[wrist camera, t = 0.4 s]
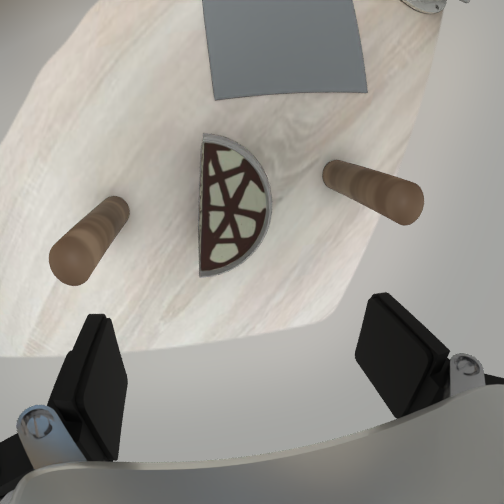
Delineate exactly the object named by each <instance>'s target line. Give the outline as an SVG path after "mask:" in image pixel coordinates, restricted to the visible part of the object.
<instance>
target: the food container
mask: <svg viewBox="0 0 504 504" xmlns="http://www.w3.org/2000/svg"><path fill="white" fill-rule="evenodd" d="M271 215H272V196H271V190H270V185H269V182H268V179H267V176H266V174H265V172H264V170H263V168H262V166H261V165H260V163H259V162H258V161H257V159H256V158H255V157H254V156H253V155H252V154H251V153H250V152H249V151H248V150H247V149H246V148H244V147H243V146H241V145H240V144H238V143H237V142H235V141H232V140H230V139H228V138H226V137H222V136H219V135H215V134H207V133H203V142H202V145H201V159H200V182H199V216H198V243H199V277H200V278H202V277H211V276H216V275H220V274H223V273H225V272H228V271H230V270H232V269H234V268H236V267H237V266H239V265H240V264H242V263H243V262H244V261H246V260H247V259H248V258H249V257H250V256H251V255H252V254H253V253H254V252H255V251H256V249H257V248H258V247H259V245H260V244H261V243H262V241H263V239H264V237H265V235H266V233H267V230H268V227H269V224H270V220H271Z"/></svg>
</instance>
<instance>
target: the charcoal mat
mask: <svg viewBox="0 0 504 504" xmlns="http://www.w3.org/2000/svg"><path fill="white" fill-rule="evenodd" d="M202 2H203V11H204V19H205V28H206V36H207V44H208V52H209V60H210V68H211V75H212V83H213V91H214V98H215V100H221V99H229V98H237V97H247V96H257V95H269V94H284V93H308V92H354V93H368V91H367V82H366V74H365V67H364V60H363V53H362V47H361V41H360V35H359V30H358V25H357V20H356V15H355V10H354V5H353V1H352V0H202Z"/></svg>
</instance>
